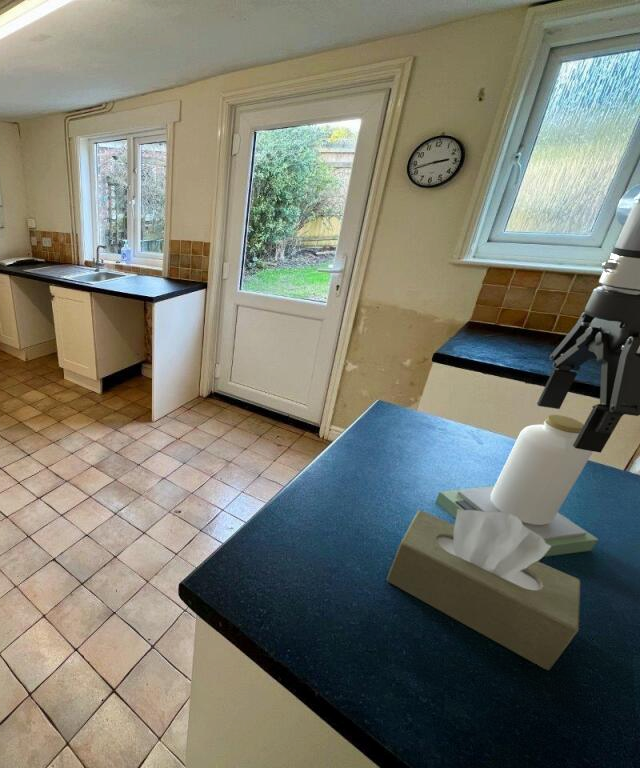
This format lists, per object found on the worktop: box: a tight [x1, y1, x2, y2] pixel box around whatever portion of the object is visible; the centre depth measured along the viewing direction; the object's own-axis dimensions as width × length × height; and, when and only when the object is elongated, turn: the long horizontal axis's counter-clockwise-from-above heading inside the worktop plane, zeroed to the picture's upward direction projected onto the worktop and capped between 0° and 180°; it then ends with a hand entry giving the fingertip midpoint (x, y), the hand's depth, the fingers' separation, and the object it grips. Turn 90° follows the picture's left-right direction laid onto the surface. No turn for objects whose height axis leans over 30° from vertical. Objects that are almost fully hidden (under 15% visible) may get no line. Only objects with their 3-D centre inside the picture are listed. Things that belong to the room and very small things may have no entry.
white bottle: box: [491, 414, 593, 525], centre depth 68 cm, size 8×8×18 cm
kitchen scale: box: [434, 485, 599, 558], centre depth 72 cm, size 16×14×3 cm
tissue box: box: [385, 508, 582, 671], centre depth 56 cm, size 19×10×16 cm, turn 44°
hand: (565, 426), depth 64 cm, fingers open, 13 cm apart
